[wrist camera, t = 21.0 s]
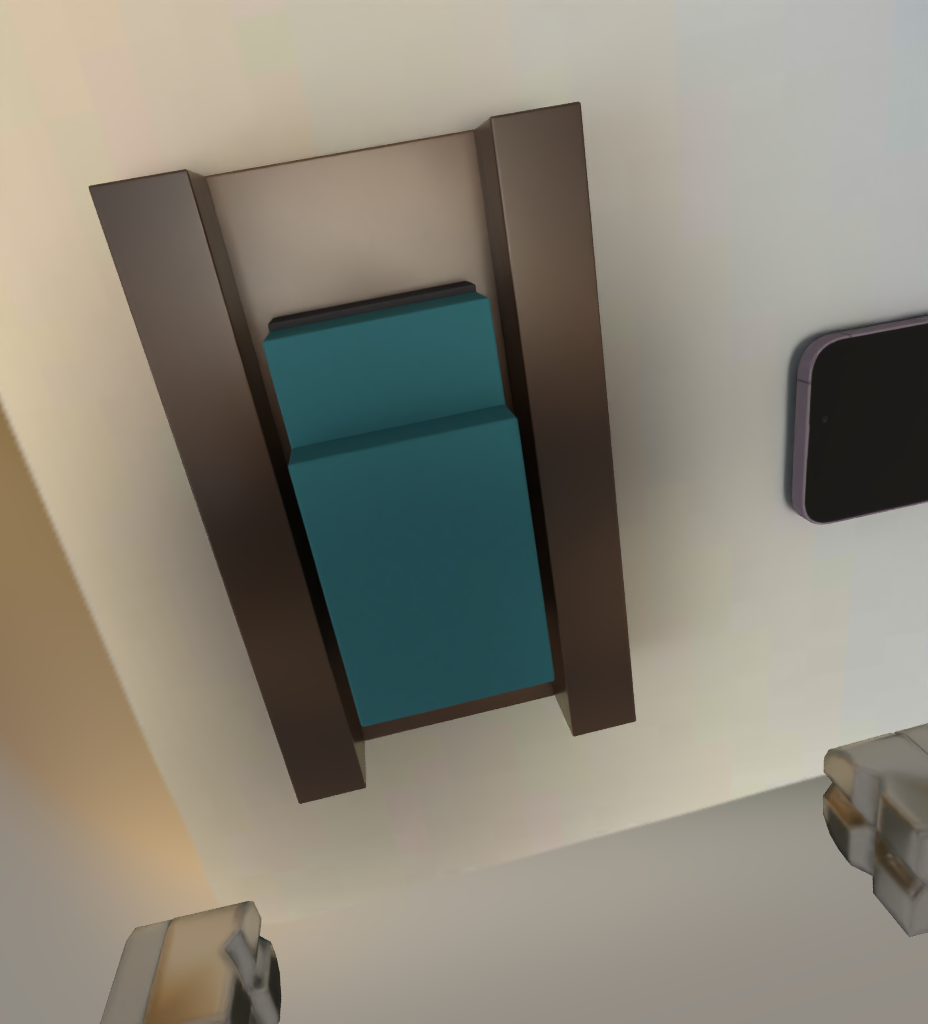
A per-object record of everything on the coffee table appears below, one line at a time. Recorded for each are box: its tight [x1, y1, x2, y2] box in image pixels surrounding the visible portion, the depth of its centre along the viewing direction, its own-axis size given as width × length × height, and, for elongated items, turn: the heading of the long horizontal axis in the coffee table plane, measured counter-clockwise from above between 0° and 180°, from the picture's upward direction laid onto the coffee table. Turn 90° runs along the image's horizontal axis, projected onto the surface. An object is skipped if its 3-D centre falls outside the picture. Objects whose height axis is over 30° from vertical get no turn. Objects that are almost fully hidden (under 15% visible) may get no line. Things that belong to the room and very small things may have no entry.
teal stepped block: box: [262, 281, 555, 727], centre depth 21 cm, size 12×6×5 cm, turn 10°
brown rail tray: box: [89, 102, 636, 804], centre depth 23 cm, size 20×12×4 cm, turn 10°
